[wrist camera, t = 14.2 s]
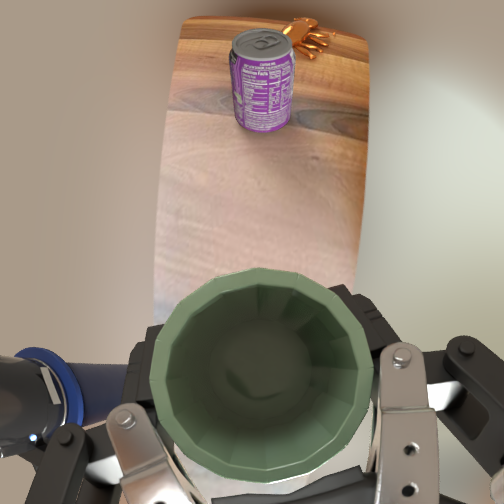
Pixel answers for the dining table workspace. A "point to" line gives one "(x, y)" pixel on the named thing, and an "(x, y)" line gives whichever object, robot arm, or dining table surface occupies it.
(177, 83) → the dining table surface
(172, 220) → the dining table surface
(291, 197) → the dining table surface
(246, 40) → the beverage can
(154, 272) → the dining table surface
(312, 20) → the figurine
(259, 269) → the cup
